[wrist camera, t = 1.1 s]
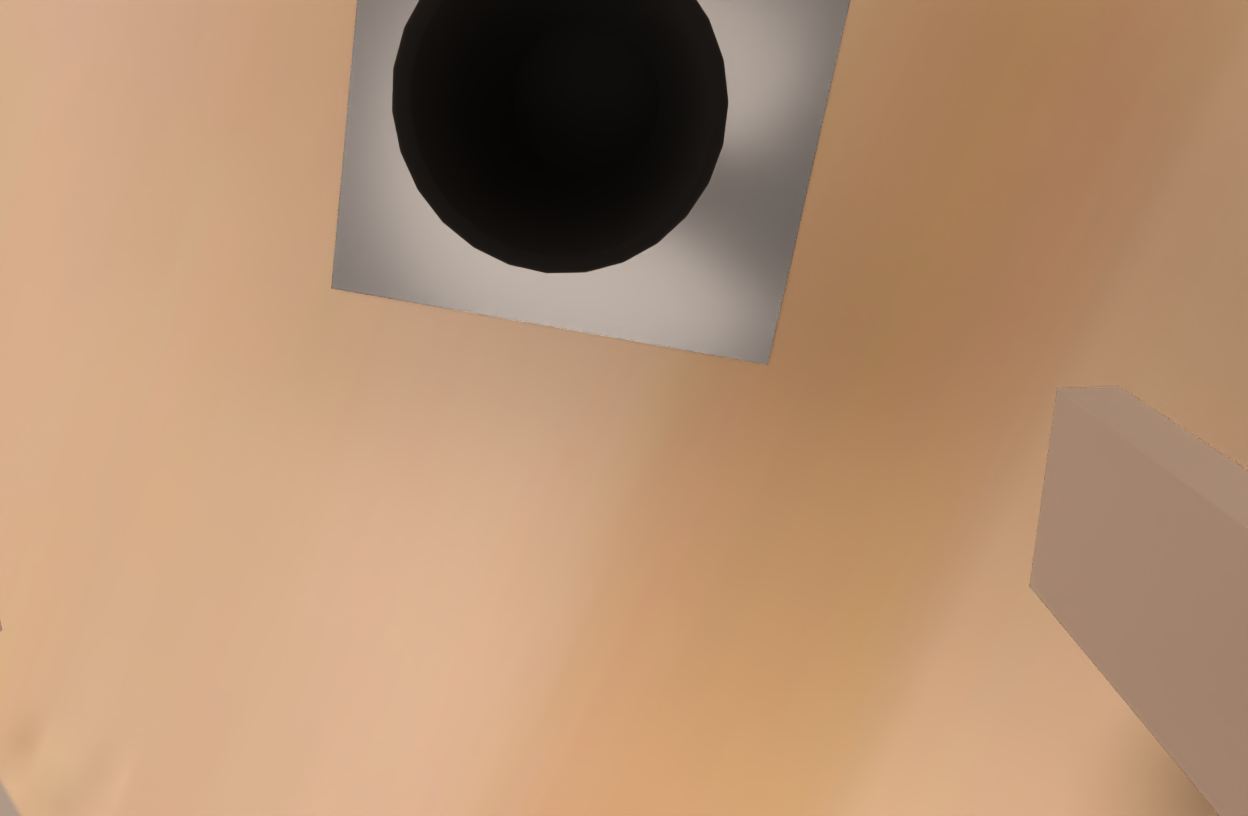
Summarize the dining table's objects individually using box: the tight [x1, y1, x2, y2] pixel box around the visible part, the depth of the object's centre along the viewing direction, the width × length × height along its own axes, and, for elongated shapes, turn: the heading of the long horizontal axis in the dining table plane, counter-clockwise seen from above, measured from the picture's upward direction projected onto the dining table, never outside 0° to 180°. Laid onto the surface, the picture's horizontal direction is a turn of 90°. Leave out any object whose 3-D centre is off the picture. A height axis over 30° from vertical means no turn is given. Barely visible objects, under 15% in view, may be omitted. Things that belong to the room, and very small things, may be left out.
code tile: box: [331, 0, 850, 365], centre depth 35 cm, size 16×16×1 cm
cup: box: [392, 0, 729, 273], centre depth 29 cm, size 8×8×12 cm
